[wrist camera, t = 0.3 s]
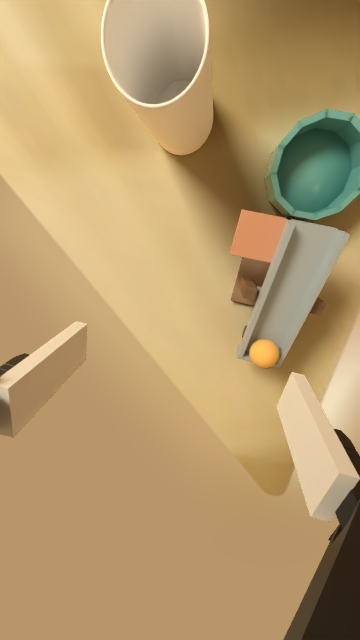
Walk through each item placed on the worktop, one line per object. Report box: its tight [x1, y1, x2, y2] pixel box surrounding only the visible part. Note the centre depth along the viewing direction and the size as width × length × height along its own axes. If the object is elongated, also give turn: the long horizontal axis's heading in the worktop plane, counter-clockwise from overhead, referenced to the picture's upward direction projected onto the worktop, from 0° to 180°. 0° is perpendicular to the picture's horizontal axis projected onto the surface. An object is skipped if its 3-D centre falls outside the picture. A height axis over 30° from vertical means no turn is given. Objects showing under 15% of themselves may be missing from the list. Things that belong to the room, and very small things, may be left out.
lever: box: [230, 209, 350, 368], centre depth 33 cm, size 20×11×4 cm, turn 169°
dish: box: [265, 109, 360, 220], centre depth 32 cm, size 11×11×4 cm
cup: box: [101, 0, 213, 155], centre depth 26 cm, size 8×8×16 cm
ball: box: [249, 339, 279, 368], centre depth 35 cm, size 4×4×4 cm
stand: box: [231, 219, 326, 338], centre depth 36 cm, size 19×11×8 cm, turn 169°
